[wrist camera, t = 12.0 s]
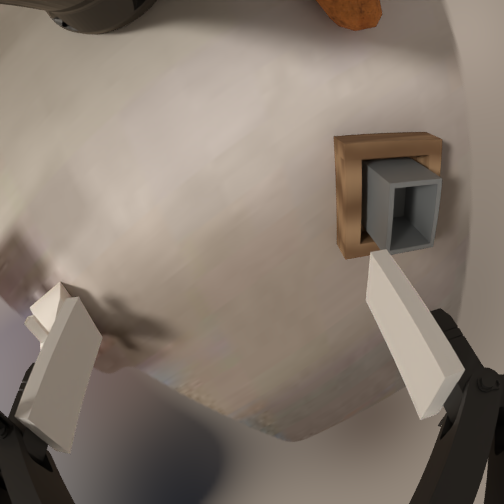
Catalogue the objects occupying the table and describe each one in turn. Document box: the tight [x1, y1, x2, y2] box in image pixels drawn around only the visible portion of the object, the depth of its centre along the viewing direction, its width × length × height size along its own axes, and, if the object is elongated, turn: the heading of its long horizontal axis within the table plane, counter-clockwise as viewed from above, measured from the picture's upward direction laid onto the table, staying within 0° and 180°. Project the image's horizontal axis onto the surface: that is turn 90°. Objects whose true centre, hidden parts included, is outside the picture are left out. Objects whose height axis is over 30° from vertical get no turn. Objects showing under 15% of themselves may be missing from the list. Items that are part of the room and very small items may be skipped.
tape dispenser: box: [24, 282, 72, 349], centre depth 42 cm, size 8×14×14 cm, turn 18°
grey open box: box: [361, 157, 442, 255], centre depth 36 cm, size 9×7×8 cm
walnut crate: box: [334, 132, 442, 259], centre depth 38 cm, size 15×14×4 cm
